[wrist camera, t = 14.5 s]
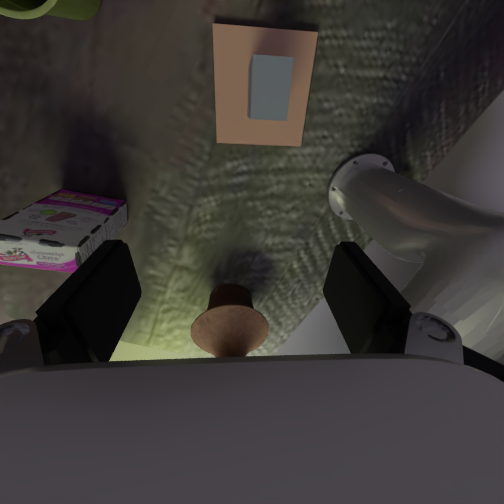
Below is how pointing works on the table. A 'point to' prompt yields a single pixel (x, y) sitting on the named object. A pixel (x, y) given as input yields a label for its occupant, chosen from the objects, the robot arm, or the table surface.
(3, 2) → the plant pot
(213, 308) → the brown vase
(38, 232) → the candy bar box
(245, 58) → the tile
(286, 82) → the block
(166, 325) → the table surface
